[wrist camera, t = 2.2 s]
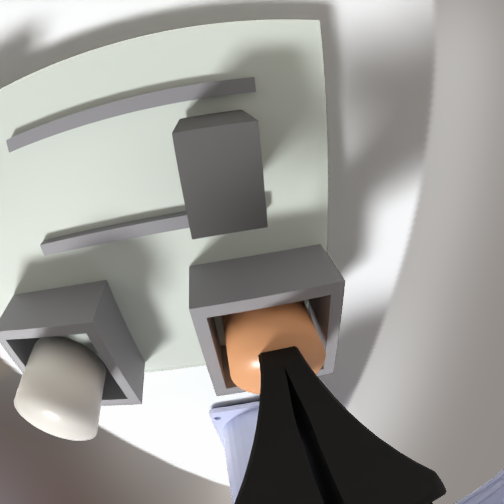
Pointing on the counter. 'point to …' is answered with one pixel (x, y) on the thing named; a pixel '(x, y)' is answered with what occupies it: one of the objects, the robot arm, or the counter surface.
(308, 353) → the button orange
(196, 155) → the slider knob
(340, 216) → the counter surface
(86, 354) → the button white
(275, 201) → the panel
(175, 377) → the counter surface
